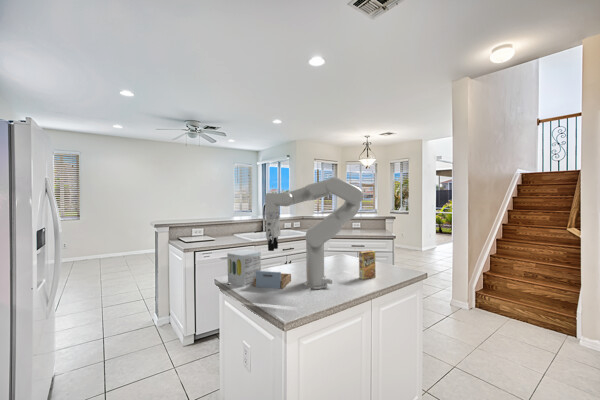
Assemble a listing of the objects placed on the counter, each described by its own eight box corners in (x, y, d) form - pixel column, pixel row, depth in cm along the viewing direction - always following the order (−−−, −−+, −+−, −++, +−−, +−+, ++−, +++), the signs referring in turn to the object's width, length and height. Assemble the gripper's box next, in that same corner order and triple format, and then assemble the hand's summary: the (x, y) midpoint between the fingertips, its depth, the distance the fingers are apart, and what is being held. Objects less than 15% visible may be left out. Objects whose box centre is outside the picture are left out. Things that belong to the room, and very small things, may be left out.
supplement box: (227, 284, 152) (226, 252, 151) (244, 278, 162) (244, 248, 162) (244, 289, 144) (243, 255, 144) (261, 282, 155) (261, 251, 154)
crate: (291, 282, 153) (291, 273, 153) (282, 291, 140) (282, 281, 140) (264, 280, 158) (264, 272, 158) (253, 288, 145) (253, 279, 144)
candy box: (363, 279, 158) (362, 252, 157) (358, 277, 161) (358, 251, 161) (375, 277, 161) (375, 251, 161) (371, 275, 165) (371, 250, 165)
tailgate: (281, 287, 142) (280, 272, 141) (280, 288, 140) (279, 273, 140) (257, 285, 145) (256, 270, 145) (255, 286, 144) (255, 271, 144)
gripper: (273, 217, 140) (273, 253, 140) (284, 214, 156) (284, 247, 156) (259, 217, 142) (260, 252, 142) (271, 214, 158) (272, 246, 159)
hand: (273, 249), depth 149 cm, fingers open, 4 cm apart
